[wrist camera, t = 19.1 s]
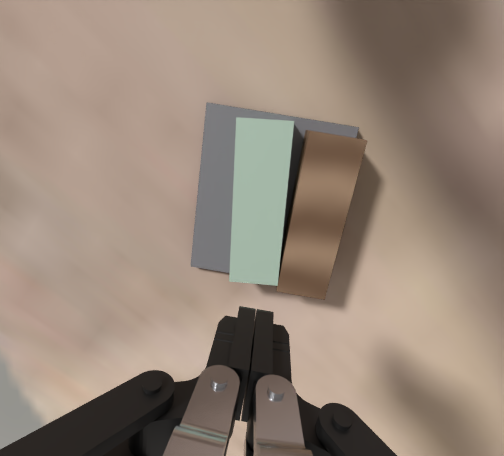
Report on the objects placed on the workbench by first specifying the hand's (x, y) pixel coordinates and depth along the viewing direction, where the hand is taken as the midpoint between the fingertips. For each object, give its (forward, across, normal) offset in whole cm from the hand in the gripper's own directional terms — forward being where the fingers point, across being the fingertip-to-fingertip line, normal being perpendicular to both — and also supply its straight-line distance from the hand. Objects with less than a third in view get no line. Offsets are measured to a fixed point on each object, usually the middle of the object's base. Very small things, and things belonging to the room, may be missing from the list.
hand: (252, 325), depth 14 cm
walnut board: (+21, -5, 0) cm, 22 cm away
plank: (+21, +1, 0) cm, 21 cm away
